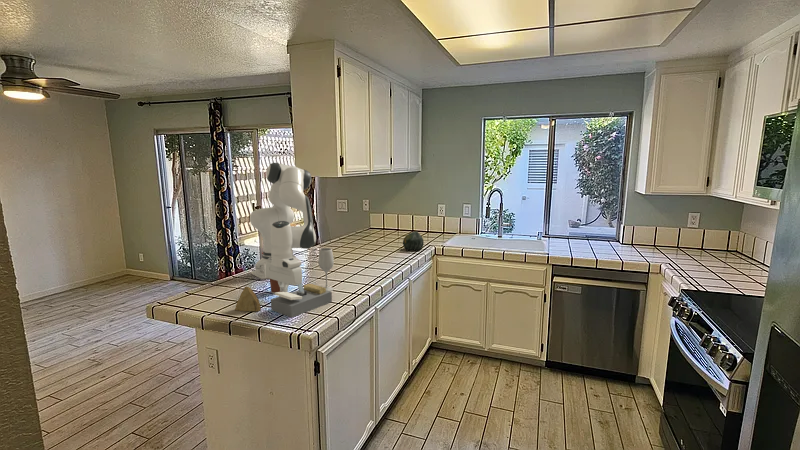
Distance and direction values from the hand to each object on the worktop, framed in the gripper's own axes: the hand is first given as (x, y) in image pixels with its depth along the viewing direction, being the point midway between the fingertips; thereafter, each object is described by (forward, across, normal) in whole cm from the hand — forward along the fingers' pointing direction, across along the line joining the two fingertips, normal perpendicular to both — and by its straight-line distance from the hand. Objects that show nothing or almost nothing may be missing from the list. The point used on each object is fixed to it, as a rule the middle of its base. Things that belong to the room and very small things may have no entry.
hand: (284, 291), depth 168 cm
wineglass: (+10, -8, +32) cm, 35 cm away
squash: (+10, -23, +134) cm, 136 cm away
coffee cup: (+10, -25, +15) cm, 31 cm away
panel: (+10, 0, +10) cm, 14 cm away
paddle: (+4, 0, +10) cm, 10 cm away
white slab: (+3, 0, +2) cm, 4 cm away
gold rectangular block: (+4, 0, +17) cm, 18 cm away
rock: (+10, -15, -8) cm, 20 cm away
